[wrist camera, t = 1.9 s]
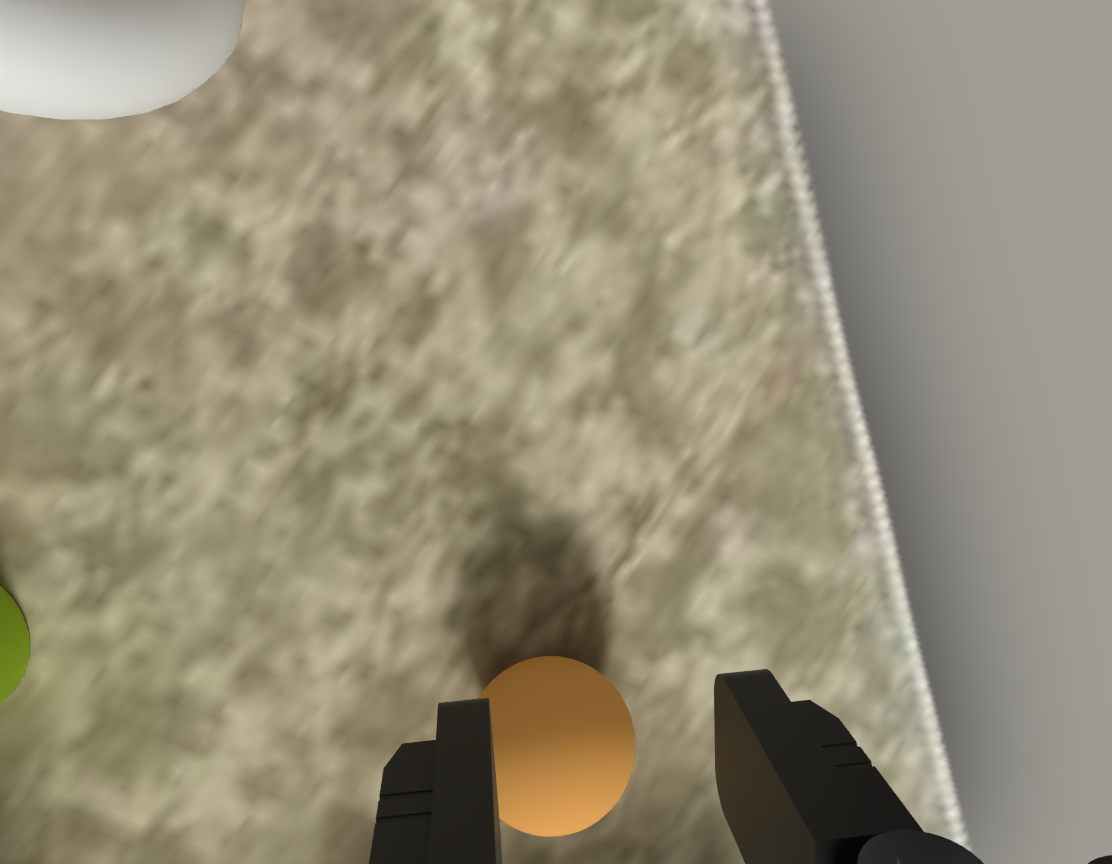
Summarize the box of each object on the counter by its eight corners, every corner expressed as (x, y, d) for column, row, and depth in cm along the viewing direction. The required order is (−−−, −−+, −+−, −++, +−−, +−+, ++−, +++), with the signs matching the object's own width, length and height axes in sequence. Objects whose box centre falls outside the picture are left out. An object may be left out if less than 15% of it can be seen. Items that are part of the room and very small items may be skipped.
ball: (459, 635, 30) (457, 725, 25) (616, 619, 31) (648, 704, 25) (472, 774, 32) (473, 887, 26) (622, 757, 32) (654, 865, 27)
